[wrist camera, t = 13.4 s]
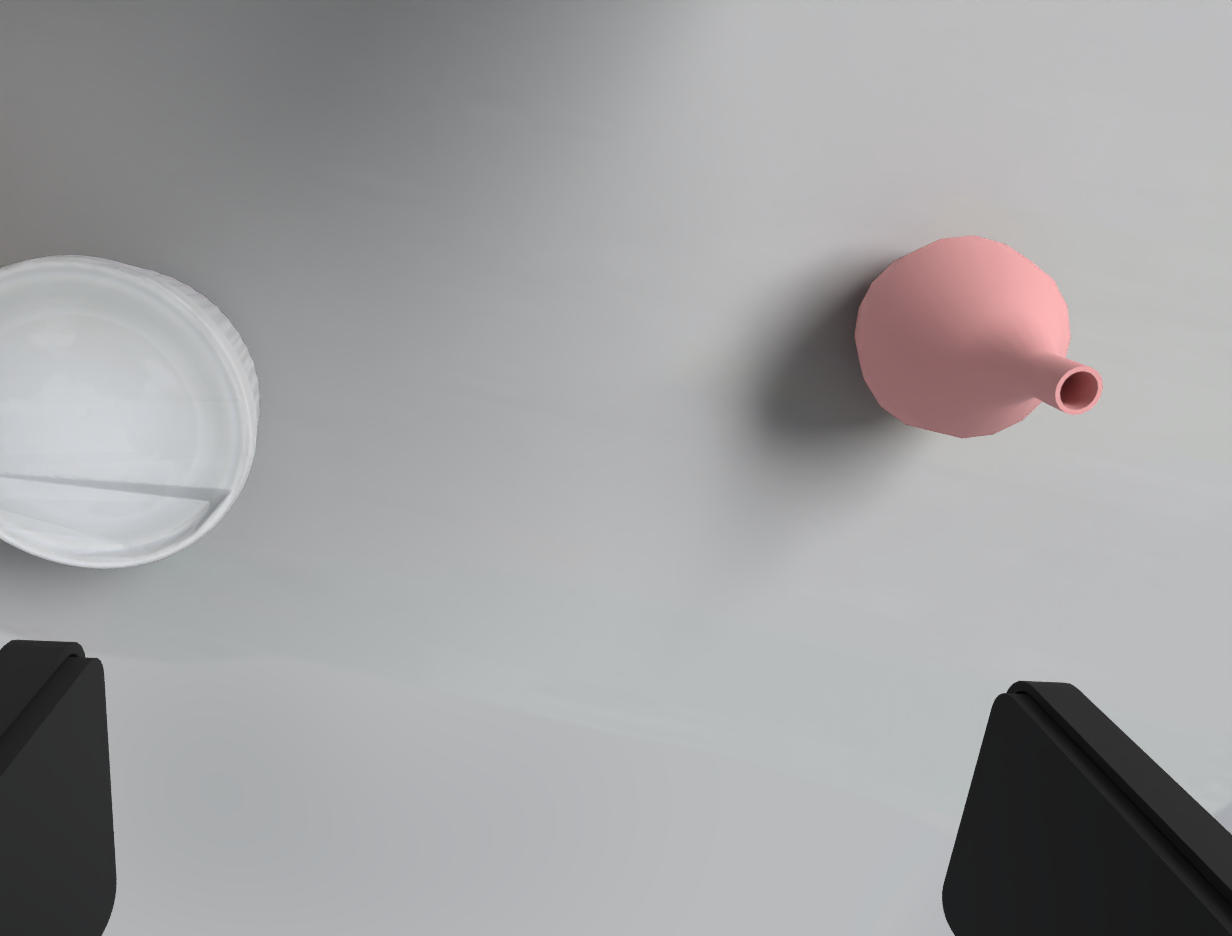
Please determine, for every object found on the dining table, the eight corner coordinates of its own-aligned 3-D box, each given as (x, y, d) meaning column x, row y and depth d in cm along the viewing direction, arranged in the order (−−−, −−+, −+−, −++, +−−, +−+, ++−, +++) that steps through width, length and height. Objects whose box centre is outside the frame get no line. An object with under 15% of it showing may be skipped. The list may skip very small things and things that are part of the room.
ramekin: (96, 560, 40) (40, 620, 35) (-81, 321, 36) (-172, 350, 31) (335, 446, 40) (312, 490, 35) (183, 192, 36) (132, 201, 31)
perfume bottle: (932, 187, 39) (1109, 207, 28) (1038, 316, 41) (1242, 384, 30) (793, 324, 40) (909, 397, 29) (904, 442, 42) (1052, 553, 31)
